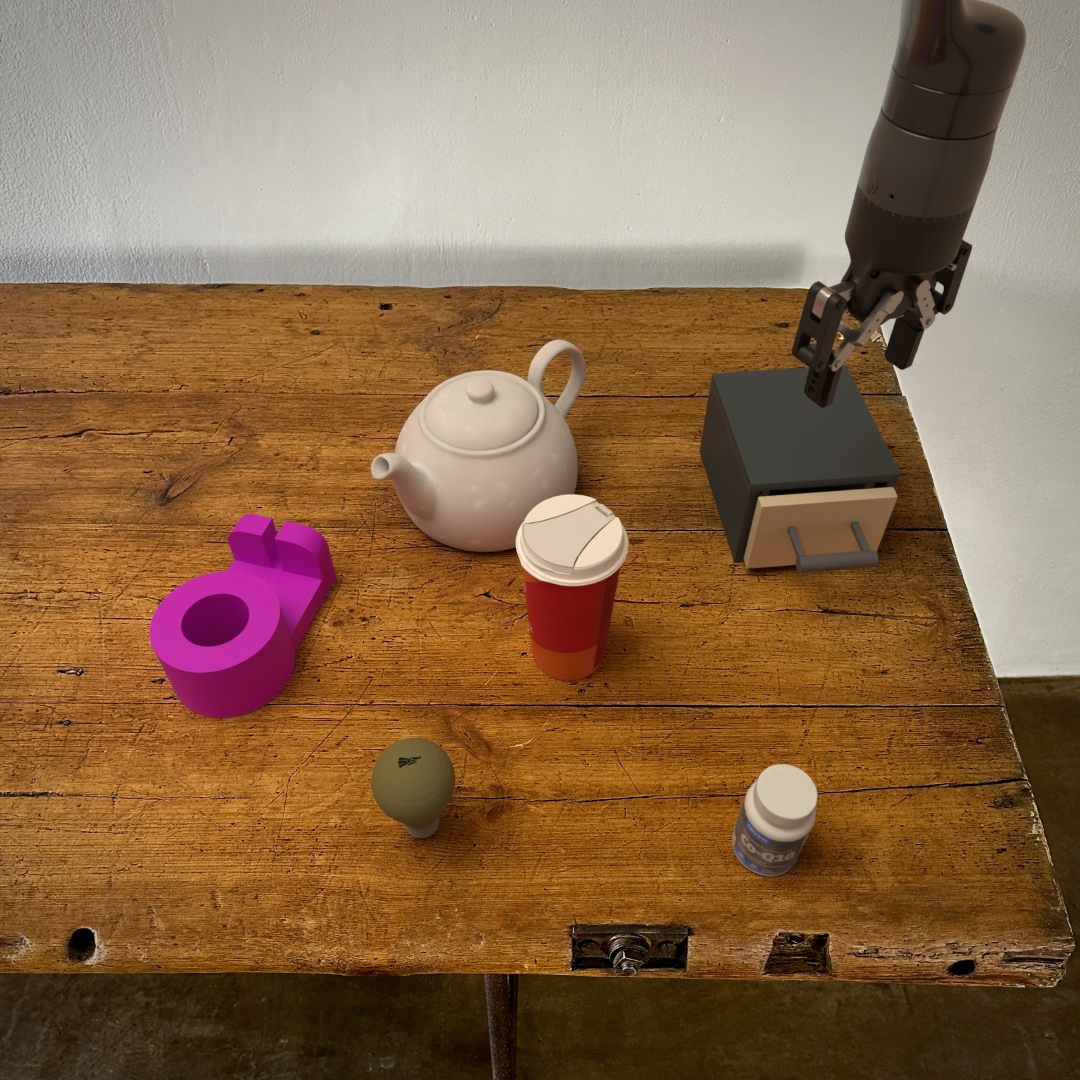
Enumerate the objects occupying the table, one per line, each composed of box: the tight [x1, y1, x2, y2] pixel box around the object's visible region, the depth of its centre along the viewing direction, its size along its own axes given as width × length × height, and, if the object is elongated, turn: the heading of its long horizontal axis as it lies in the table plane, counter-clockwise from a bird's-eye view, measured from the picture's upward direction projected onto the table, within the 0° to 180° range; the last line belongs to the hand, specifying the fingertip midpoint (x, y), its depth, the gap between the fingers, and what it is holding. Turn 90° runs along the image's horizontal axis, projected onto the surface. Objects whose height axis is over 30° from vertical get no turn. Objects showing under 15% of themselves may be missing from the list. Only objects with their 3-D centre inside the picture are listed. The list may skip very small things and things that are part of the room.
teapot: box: [370, 339, 587, 553], centre depth 88 cm, size 19×18×14 cm
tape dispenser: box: [149, 513, 337, 719], centre depth 80 cm, size 16×10×6 cm, turn 164°
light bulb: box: [371, 737, 456, 839], centre depth 67 cm, size 6×6×10 cm
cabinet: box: [699, 364, 902, 562], centre depth 89 cm, size 15×13×10 cm
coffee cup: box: [515, 494, 630, 682], centre depth 75 cm, size 8×8×15 cm
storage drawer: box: [743, 483, 899, 574], centre depth 86 cm, size 18×12×8 cm, turn 6°
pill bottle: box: [731, 763, 818, 877], centre depth 66 cm, size 5×5×8 cm
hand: (858, 381), depth 75 cm, fingers open, 8 cm apart
